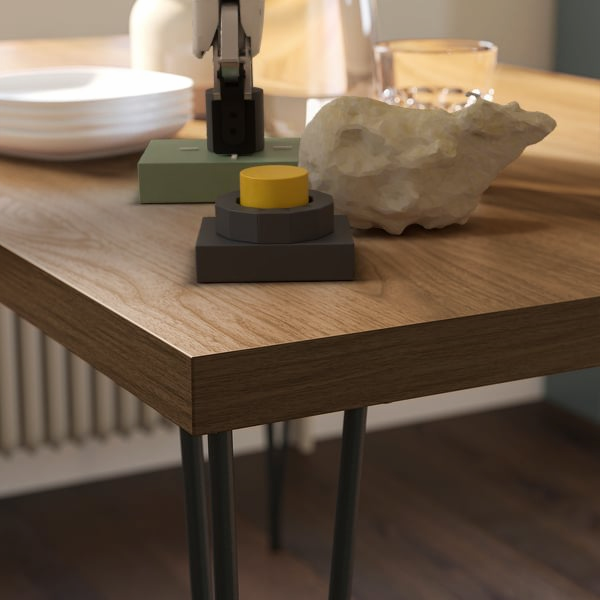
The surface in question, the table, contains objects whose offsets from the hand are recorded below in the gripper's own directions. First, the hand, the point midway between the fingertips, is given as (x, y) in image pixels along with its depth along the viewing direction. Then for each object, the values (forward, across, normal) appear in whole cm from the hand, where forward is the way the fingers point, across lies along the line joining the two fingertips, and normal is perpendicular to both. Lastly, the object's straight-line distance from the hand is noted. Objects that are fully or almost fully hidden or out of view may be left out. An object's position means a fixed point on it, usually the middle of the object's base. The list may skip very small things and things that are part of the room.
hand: (235, 144), depth 90 cm
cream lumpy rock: (+4, +12, +13) cm, 18 cm away
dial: (0, 0, 0) cm, 0 cm away
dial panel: (+3, 0, 0) cm, 3 cm away
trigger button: (0, +22, +3) cm, 22 cm away
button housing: (+3, +22, +3) cm, 22 cm away
